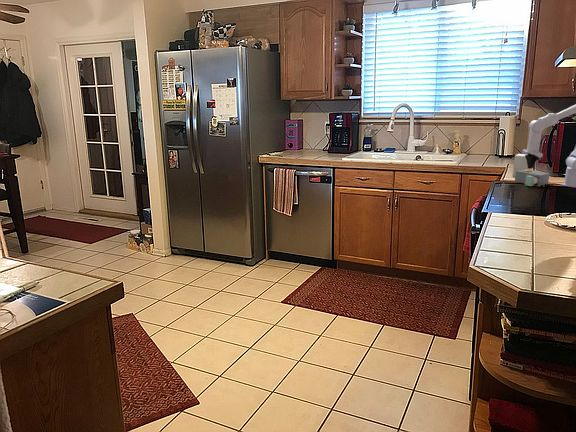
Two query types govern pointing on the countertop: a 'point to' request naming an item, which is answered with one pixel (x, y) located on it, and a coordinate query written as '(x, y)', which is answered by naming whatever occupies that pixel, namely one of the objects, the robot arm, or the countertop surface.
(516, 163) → the supplement box
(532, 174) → the housing
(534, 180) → the cartridge
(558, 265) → the countertop surface
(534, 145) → the robot arm
